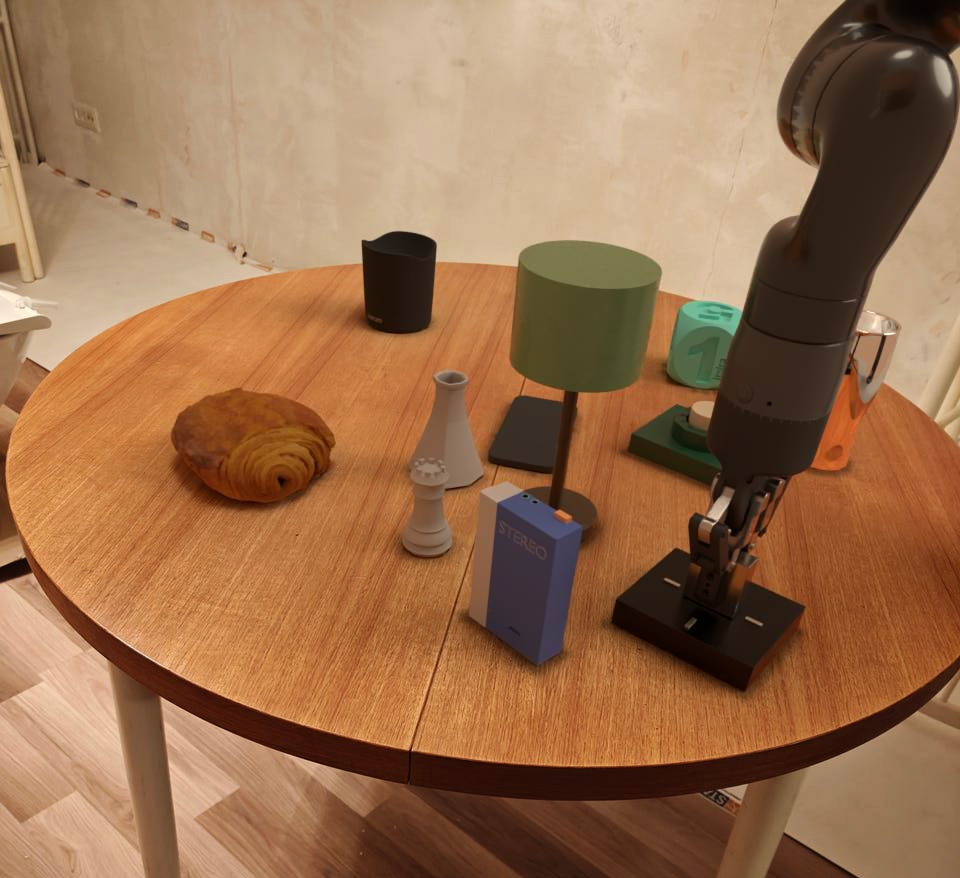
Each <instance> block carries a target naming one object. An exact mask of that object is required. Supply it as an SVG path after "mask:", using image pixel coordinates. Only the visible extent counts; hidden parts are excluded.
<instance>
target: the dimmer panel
mask: <svg viewBox="0 0 960 878" xmlns="http://www.w3.org/2000/svg"><path fill="white" fill-rule="evenodd" d="M690 565H691V560H690V552H687V551H685V550H684V549H680V548H679V547H674V548H673V549H672V550H671V551H669V552H668V554H666V555H665V556H664V557H663V558H661V560H659V561H658V562H657V563H655V565H653V566H652V567H651V568H650V569H649V570H648V571H646V572H645V573H644V574H643V575H642V576H641V577H640V578H638V579H637V580H636V581H635V582H633V584H631V586H629V587H628V588H627V589H625V591H623V592H622V593H621V594H620V595H618V596H617V597H616V598H615V600H614V606H613V610H612V614H611V620H610V623H611V624H612V625H614V626H616V627H618V628H619V629H622V630H624V631H626V632H628V633H630V634H631V635H633V636H635V637H637V638H639V639H641V640H643V641H645V642H647V643H649V644H651V645H653V646H655V647H657V648H659V650H660V649H661V650H662V651H665V653H668V654H670V655H672V656H674V657H676V658H677V659H680V660H682V661H684V662H686V663H687V664H689V665H692V666H693V667H695V668H697V669H700V670H701V671H703V672H705V673H707V674H709V675H711V676H713V677H715V678H717V679H719V680H721V681H723V682H724V683H726V684H728V685H731V686H732V687H734V688H736V689H737V690H740V691H742V692H744V693H745V692H746V691H748V690H749V688H750V687H751V686H752V685H753V683H754V682H755V681H756V680H757V678H758V677H759V676H760V675H761V674H762V673H763V672H764V670H765V669H766V668H767V666H768V665H769V664H770V663H771V661H773V659H774V658H775V657H776V656H777V655H778V653H779V652H780V651H781V650H782V648H783V647H784V646H785V645H786V644H787V643H788V642H789V640H790V639H791V638H792V636H793V635H794V634H795V633H796V632H797V630H798V629H799V626H800V624H801V621H802V618H803V615H804V613H805V611H806V608H807V606H806V605H804V604H802V603H799V602H797V601H795V600H793V599H791V598H788V597H787V596H784V595H782V594H780V593H778V592H775V591H772V590H771V589H768V588H766V587H765V586H762V585H760V584H758V583H755V582H753V581H751V584H750V587H749V590H748V593H747V596H746V599H745V602H744V604H743V607H742V609H741V610H740V611H739V613H738V614H737V615H736V616H735V617H734V618H733V619H731V618H729V617H727V616H725V615H723V614H721V613H719V612H717V611H714V610H712V609H710V608H708V607H706V606H704V605H702V604H700V603H698V602H696V601H694V600H692V599H689V598H687V597H685V596H683V595H682V594H683V590H684V587H685V583H686V580H687V576H688V572H689V569H690Z"/></svg>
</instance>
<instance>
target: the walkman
mask: <svg viewBox="0 0 960 878" xmlns="http://www.w3.org/2000/svg"><path fill="white" fill-rule="evenodd" d="M478 496H479V497H478V509H477V519H476V520H477V521H476V522H477V523H476V532H475V536H474V546H473V558H472V559H473V560H472V573H471V586H470V597H469V609H468V616H469V618H471V619H472V620H474V621H475V622H476V623H478V624H479V625H481V626H482V627H484V628H485V629H486V630H488V631H489V632H490V633H492V634H493V635H494V636H496V637H497V638H499V639H500V640H501V641H502V642H504V643H505V644H507V645H508V646H509V647H511V648H512V649H513V650H515V651H516V652H518V653H519V654H520V655H521V656H523V657H524V658H526V659H527V660H528V661H530V662H531V663H532V664H534V665H535V666H536V667H538V666H540V665H542V664H543V663H545V662H547V661H549V660H550V659H551V658H553V657H555V656H557V655H558V654H559V653H561V652H562V650H563V646H564V639H565V634H566V628H567V622H568V616H569V610H570V605H571V598H572V593H573V588H574V582H575V575H576V570H577V565H578V560H579V559H578V558H579V553H580V548H581V543H582V542H581V536H582V530H583V526H581V525H580V524H578V523H576V522H575V521H573V520H572V517H571V516H570V515H568V514H566V513H565V512H563V511H561V510H558V511H556V510H555V509H553V508H551V507H550V506H548V505H546V504H545V503H543V502H541V501H540V500H538V499H536V498H535V497H533V496H532V495H530V494H528V493H527V492H525V491H524V490H523V489H521V488H519V486H516V485H515V484H513V483H511V482H509V481H508V480H506V481H504V482H502V483H499V484H497V485H490V486H487V487H486V488H482V489H481V490H479V495H478ZM580 542H581V543H580Z"/></svg>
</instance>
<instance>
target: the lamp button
mask: <svg viewBox="0 0 960 878" xmlns="http://www.w3.org/2000/svg"><path fill="white" fill-rule="evenodd" d="M714 404H715V401H711V400H700V401H696V402H694V403H693V404H691V406H690V407H691V411H690V416H689V420H688V423H689V424H690V425H691V426H693V427H695V428H697V429H700V430H703V431H707V430H708V427H709V423H710V419H711V415H712V411H713V407H714Z"/></svg>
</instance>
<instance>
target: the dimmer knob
mask: <svg viewBox="0 0 960 878" xmlns="http://www.w3.org/2000/svg"><path fill="white" fill-rule="evenodd" d="M729 548H730V547H729V545H728V551H729ZM759 560H760V558H759V557H757V556H755V555H752V554H750V553H746V552H744V551H742V550H740V552H739V555H738V558H737V561H736V566H735V568H734V569H733V571H732V574H731V577H730V581H729V584H728V587H727V590H726V593H725V596H724V599H723V602H722V603H721V604H720V605H719V606H718V607H717V608H712V607H710V606H708V605H706V604H704V603H702V602H700V601H698V600H696V599H695V597H694V591H695V588H696V584H697V581H698V577H699V574H700V570H701V567H700V566H698V565H695V564H693V563H691V565H690V569H689V572H688V576H687V580H686V583H685V587H684V590H683V594H682V595H683V596H685V597H687V598H689V599H692V600H694V601H696V602H698V603H700V604H702V605H704V606H706V607H708V608H710V609H712V610H714V611H717V612H719V613H721V614H723V615H725V616H727V617H729V618H731V619H733V618H734V617H735V616H736V615H737V614H738V613H739V611H740V610H741V609H742V607H743V604H744V602H745V599H746V596H747V593H748V590H749V587H750V584H751V582H753V577H754V575H755V572H756V569H757V565H758V563H759Z"/></svg>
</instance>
